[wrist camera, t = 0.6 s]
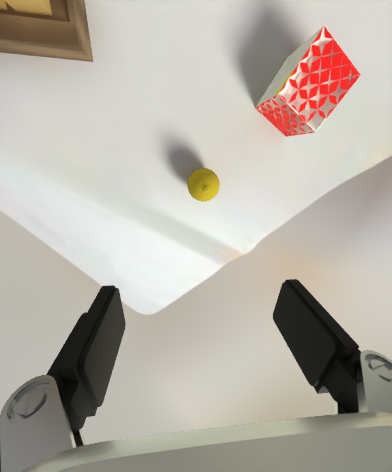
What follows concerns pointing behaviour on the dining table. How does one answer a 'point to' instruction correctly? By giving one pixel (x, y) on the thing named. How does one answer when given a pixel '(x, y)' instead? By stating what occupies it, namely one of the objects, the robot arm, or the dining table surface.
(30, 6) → the yellow cube
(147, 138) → the dining table surface
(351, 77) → the red patterned box
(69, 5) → the slot block
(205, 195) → the lemon
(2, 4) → the yellow wooden cube
